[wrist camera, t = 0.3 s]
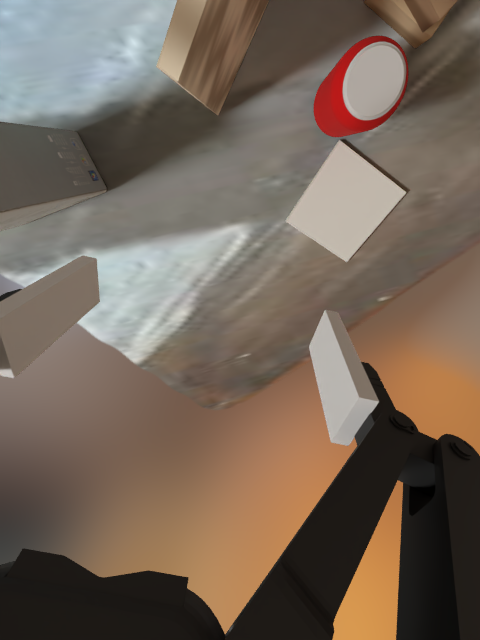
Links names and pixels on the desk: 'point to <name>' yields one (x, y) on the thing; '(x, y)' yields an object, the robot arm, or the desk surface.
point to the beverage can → (362, 88)
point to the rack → (209, 45)
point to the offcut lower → (402, 20)
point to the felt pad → (344, 202)
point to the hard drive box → (42, 173)
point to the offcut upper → (428, 11)
